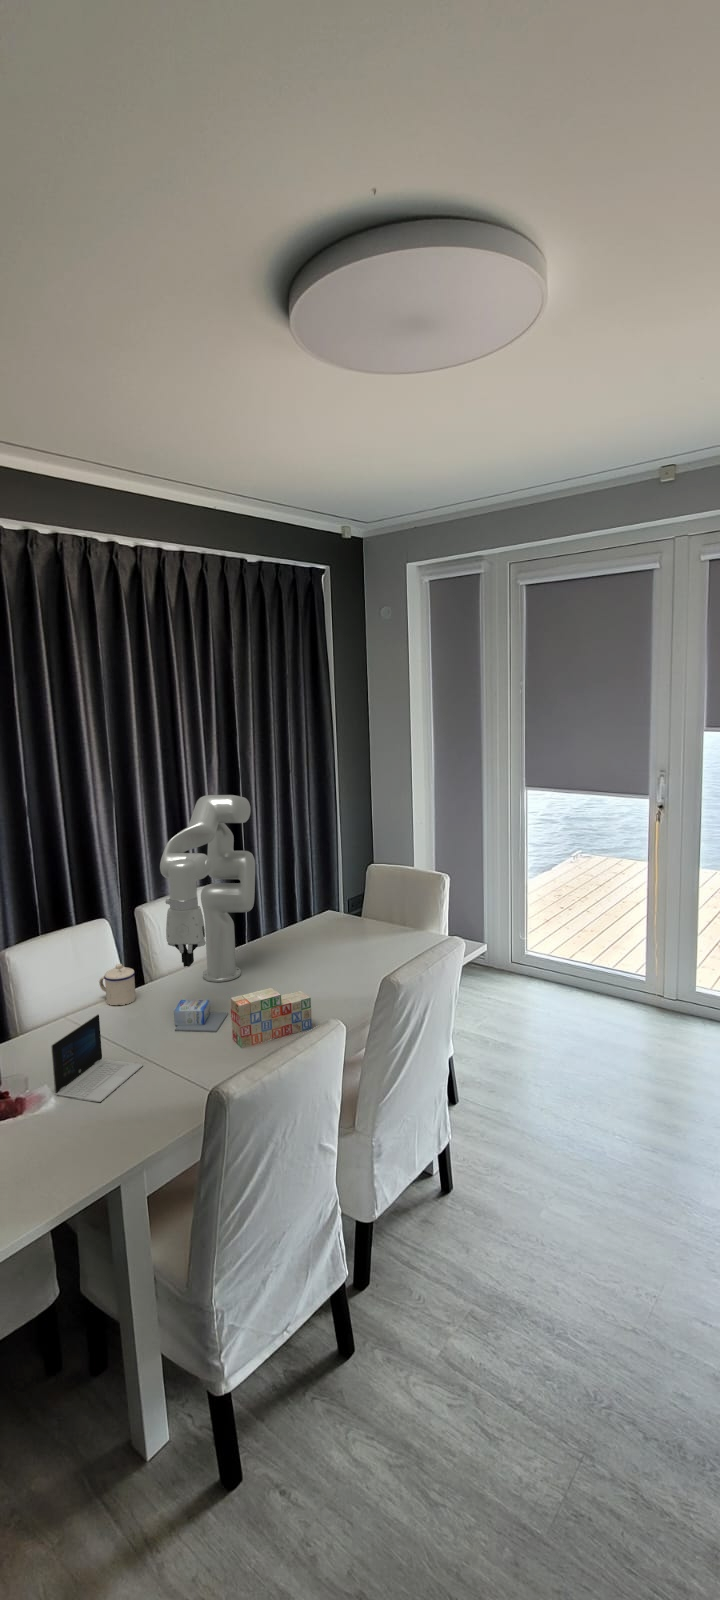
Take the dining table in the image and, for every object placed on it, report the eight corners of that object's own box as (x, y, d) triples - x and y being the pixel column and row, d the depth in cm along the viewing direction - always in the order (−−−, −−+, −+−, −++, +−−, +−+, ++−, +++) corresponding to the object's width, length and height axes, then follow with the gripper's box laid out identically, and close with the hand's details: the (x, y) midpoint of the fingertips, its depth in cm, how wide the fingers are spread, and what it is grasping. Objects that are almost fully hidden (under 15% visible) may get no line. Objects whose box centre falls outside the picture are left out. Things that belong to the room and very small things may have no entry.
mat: (188, 1013, 220) (188, 1011, 220) (228, 1013, 219) (228, 1012, 219) (174, 1031, 208) (174, 1029, 208) (216, 1032, 207) (216, 1030, 207)
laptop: (100, 1104, 172) (96, 1051, 170) (54, 1097, 175) (50, 1045, 174) (143, 1067, 189) (140, 1018, 187) (101, 1061, 192) (97, 1013, 191)
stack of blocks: (302, 1021, 214) (300, 980, 212) (312, 1029, 208) (311, 987, 207) (232, 1039, 203) (230, 996, 201) (240, 1048, 197) (239, 1004, 196)
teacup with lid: (142, 996, 233) (140, 961, 231) (124, 1008, 224) (122, 971, 223) (110, 992, 237) (107, 957, 235) (91, 1003, 228) (88, 967, 226)
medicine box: (180, 999, 218) (209, 998, 218) (181, 1013, 219) (210, 1013, 218) (173, 1010, 210) (204, 1010, 210) (174, 1025, 211) (204, 1025, 211)
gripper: (153, 907, 206) (158, 969, 209) (206, 907, 205) (209, 970, 208) (163, 899, 214) (167, 959, 217) (213, 899, 212) (217, 960, 215)
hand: (188, 964), depth 212 cm, fingers closed
